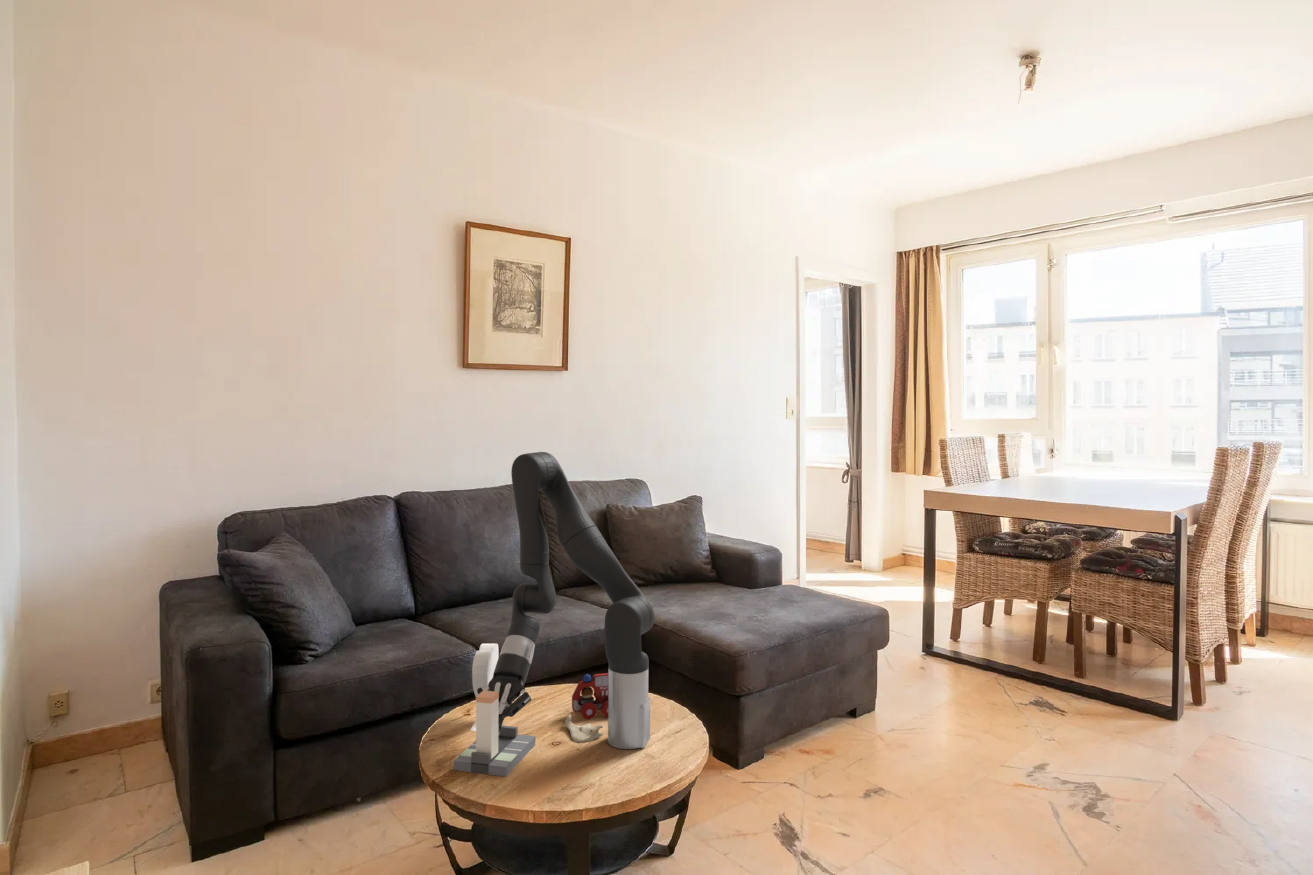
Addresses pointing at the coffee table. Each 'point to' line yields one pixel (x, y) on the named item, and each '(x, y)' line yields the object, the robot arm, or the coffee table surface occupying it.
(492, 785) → the coffee table surface
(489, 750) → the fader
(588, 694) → the toy fire truck
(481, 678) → the heart sculpture
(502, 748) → the console
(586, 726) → the fossil
